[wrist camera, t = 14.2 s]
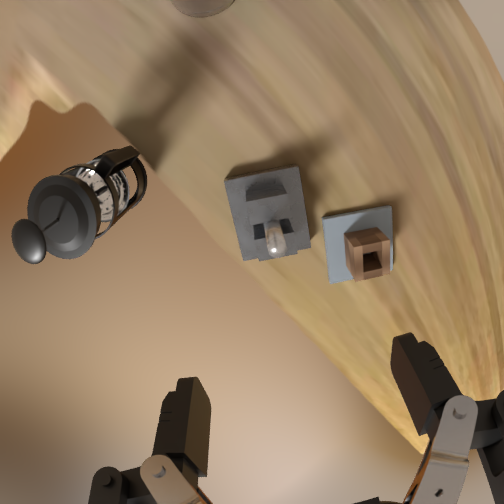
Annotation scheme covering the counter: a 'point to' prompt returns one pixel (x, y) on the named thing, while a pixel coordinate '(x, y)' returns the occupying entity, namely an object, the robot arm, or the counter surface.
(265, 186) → the grey block-shaped fixture
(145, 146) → the counter surface
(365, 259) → the collar
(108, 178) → the french press
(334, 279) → the mat
